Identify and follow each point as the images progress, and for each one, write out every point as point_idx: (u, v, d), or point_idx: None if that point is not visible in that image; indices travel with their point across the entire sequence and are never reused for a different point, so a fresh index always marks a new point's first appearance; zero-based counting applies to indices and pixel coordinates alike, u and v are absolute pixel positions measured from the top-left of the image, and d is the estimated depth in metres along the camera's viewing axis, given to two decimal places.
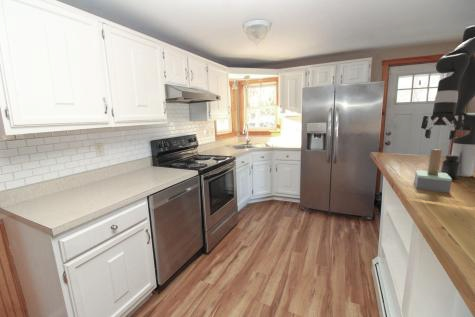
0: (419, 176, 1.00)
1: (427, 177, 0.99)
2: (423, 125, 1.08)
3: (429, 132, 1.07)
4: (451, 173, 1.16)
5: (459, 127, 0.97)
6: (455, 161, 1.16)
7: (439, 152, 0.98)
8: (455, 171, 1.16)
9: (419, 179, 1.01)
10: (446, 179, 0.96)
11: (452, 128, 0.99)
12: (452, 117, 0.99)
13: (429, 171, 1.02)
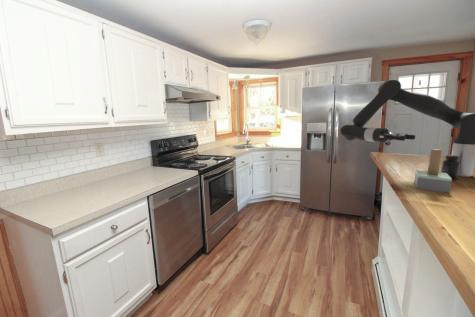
0: (419, 176, 1.00)
1: (427, 177, 0.99)
2: None
3: (408, 137, 1.13)
4: (451, 173, 1.16)
5: None
6: (455, 161, 1.16)
7: (439, 152, 0.98)
8: (455, 171, 1.16)
9: (419, 179, 1.01)
10: (446, 179, 0.96)
11: None
12: None
13: (429, 171, 1.02)
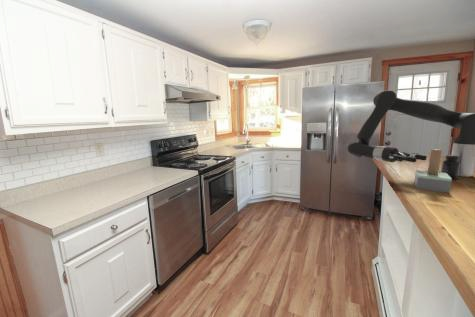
0: (419, 176, 1.00)
1: (427, 177, 0.99)
2: None
3: (419, 157, 1.10)
4: (451, 173, 1.16)
5: (400, 161, 1.07)
6: (455, 161, 1.16)
7: (439, 152, 0.98)
8: (455, 171, 1.16)
9: (419, 179, 1.01)
10: (446, 179, 0.96)
11: None
12: None
13: (429, 171, 1.02)
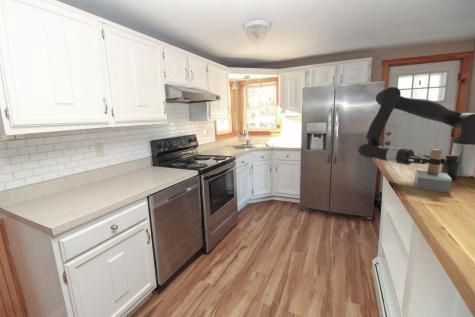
0: (419, 176, 1.00)
1: (427, 177, 0.99)
2: None
3: None
4: (451, 173, 1.16)
5: (422, 163, 1.01)
6: (455, 161, 1.16)
7: (439, 152, 0.98)
8: (455, 171, 1.16)
9: (419, 179, 1.01)
10: (446, 179, 0.96)
11: None
12: None
13: (429, 171, 1.02)
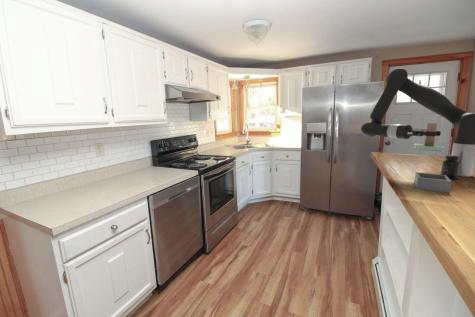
0: (417, 147, 1.11)
1: (424, 147, 1.10)
2: None
3: None
4: (451, 173, 1.16)
5: (420, 136, 1.12)
6: (455, 161, 1.16)
7: (435, 125, 1.09)
8: (455, 171, 1.16)
9: (419, 179, 1.01)
10: (441, 148, 1.06)
11: (423, 135, 1.12)
12: None
13: (426, 143, 1.12)
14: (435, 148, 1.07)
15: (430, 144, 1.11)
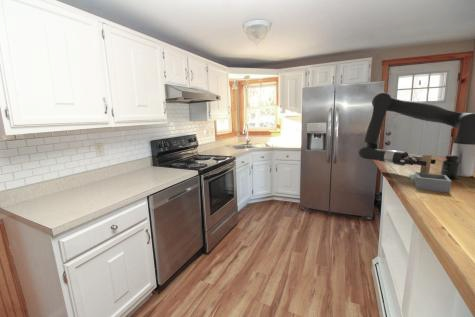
0: (412, 178, 1.14)
1: None
2: None
3: None
4: (451, 173, 1.16)
5: (411, 164, 1.15)
6: (455, 161, 1.16)
7: (429, 158, 1.12)
8: (455, 171, 1.16)
9: (419, 179, 1.01)
10: None
11: None
12: None
13: None
14: None
15: None
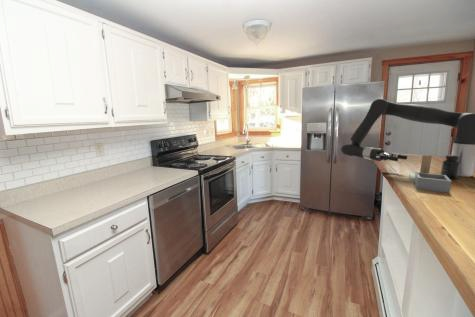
0: (412, 179, 1.14)
1: None
2: None
3: (401, 157, 1.28)
4: (451, 173, 1.16)
5: None
6: (455, 161, 1.16)
7: (429, 158, 1.12)
8: (455, 171, 1.16)
9: (419, 179, 1.01)
10: None
11: None
12: None
13: None
14: None
15: None
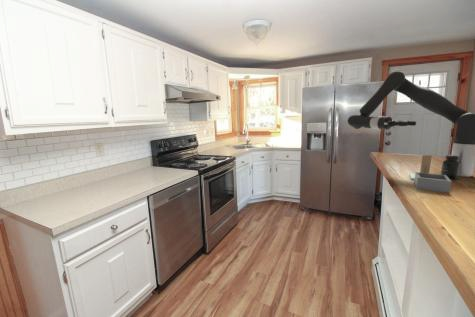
0: (412, 179, 1.14)
1: None
2: None
3: (409, 123, 1.26)
4: (451, 173, 1.16)
5: (393, 126, 1.24)
6: (455, 161, 1.16)
7: (429, 158, 1.12)
8: (455, 171, 1.16)
9: (419, 179, 1.01)
10: None
11: (396, 126, 1.24)
12: None
13: None
14: None
15: None
